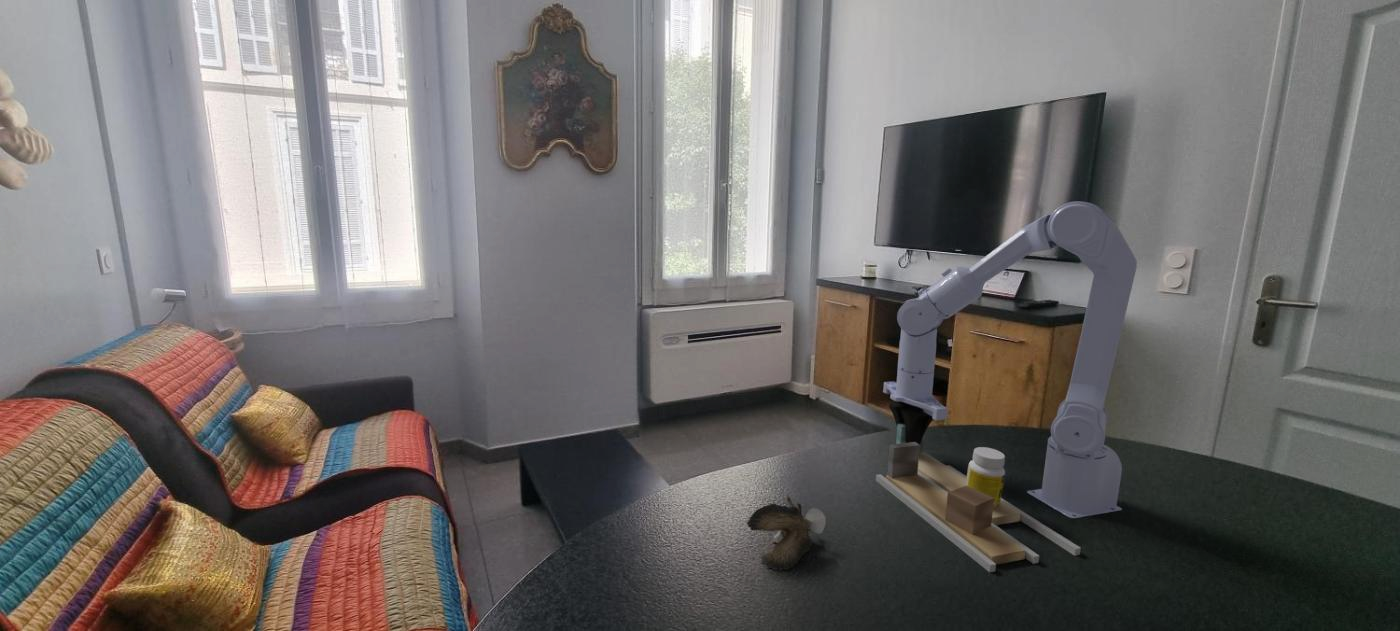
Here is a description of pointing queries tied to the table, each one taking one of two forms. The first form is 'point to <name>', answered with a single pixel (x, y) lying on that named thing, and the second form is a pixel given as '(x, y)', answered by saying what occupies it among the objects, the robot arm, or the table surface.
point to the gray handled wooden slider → (944, 504)
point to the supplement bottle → (987, 472)
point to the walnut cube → (969, 509)
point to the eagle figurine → (787, 532)
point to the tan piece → (953, 480)
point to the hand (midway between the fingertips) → (909, 445)
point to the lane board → (972, 550)
